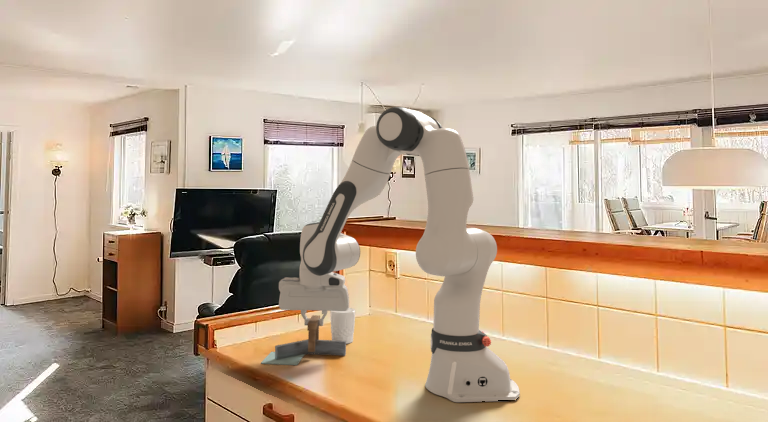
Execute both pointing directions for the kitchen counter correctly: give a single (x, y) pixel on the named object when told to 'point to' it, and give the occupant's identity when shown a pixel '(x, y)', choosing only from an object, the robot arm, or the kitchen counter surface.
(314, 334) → the arch
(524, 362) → the kitchen counter surface
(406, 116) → the robot arm
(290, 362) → the pad
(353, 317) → the white cup
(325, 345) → the rail
